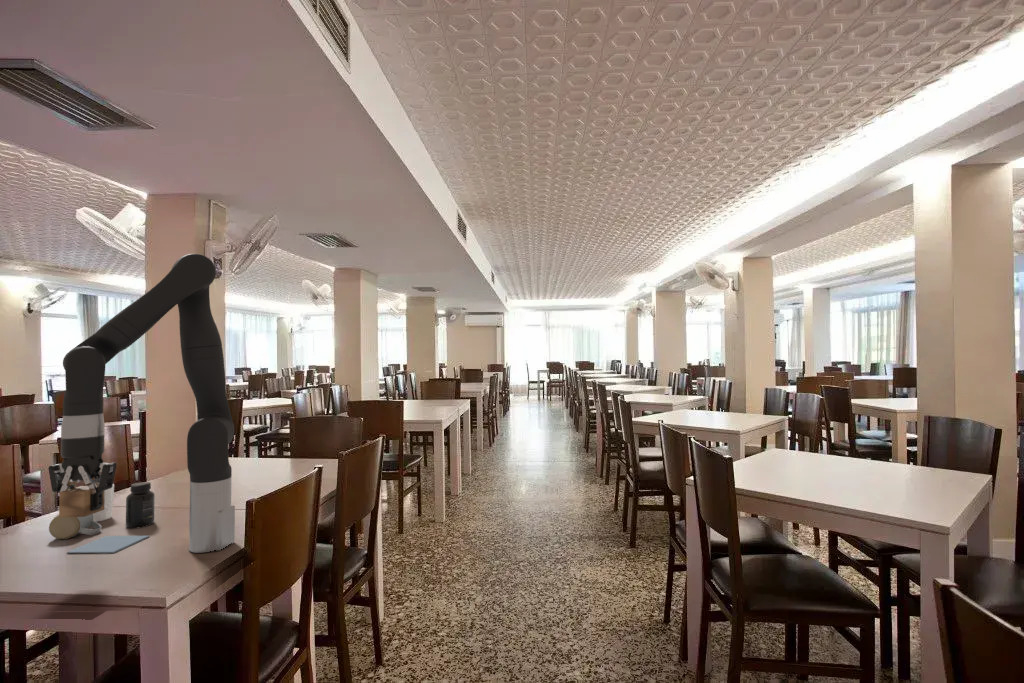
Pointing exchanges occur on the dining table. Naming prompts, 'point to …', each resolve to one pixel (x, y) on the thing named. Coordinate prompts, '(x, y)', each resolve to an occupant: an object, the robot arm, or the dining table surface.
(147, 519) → the supplement bottle
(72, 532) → the ceramic mug
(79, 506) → the walnut block
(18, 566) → the dining table surface
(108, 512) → the white cup
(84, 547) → the slate mat
